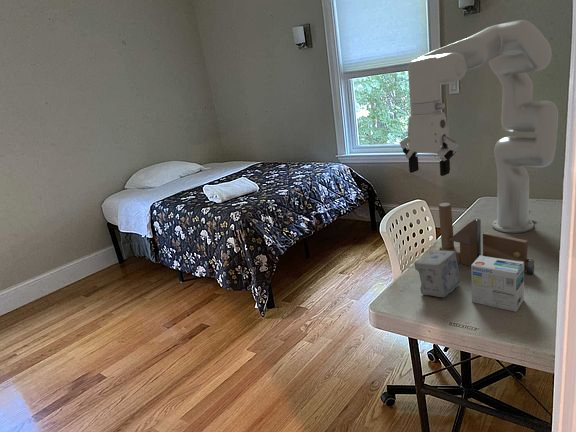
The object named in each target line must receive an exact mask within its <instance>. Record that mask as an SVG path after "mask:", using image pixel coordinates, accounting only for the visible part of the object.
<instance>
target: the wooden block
mask: <svg viewBox="0 0 576 432" xmlns="http://www.w3.org/2000/svg"><path fill="white" fill-rule="evenodd" d="M452 210H453V209H452V204H451V203H450V202H442V203H439V204H438V214H439V215H438V217H439V228H440V229H439V230H440V241H441V246H440V247H439V251H454V252H455V253H456V259H457V264H458V263H459V264H462V265H465V266H468V267H471V265H472V264H473V263H474V262H475V260H476V259H477V242H476V241H477V238H476V219H477V218H474V219H473V220H471V221H469V222H468V223H467V224H466V225H465V226H463V227H462V228H461V229H460V230H458V231H457V232H456V233H455V234H454V225H453V214H452V213H453V211H452ZM455 243H459V246H457V245H455Z"/></svg>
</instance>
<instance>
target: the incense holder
mask: <svg viewBox="0 0 576 432" xmlns="http://www.w3.org/2000/svg"><path fill="white" fill-rule="evenodd" d="M414 269H415V271H417V272H418V275H419V279H420V287H419V289H420V293H421V295H424V296H432V297H438V298H446V297H448V295H449V294H452V293H453V291H454V290H455V288H456V287H457V286H458V285H460V284H461V276H460V270H459V265H458V262H457V259H456V253H455V252H454V251H440V250H433V249H432V250H430V251H429V254H428V255H426V256H425V257H424V258H422V259H420V260H416V261H415V262H414Z"/></svg>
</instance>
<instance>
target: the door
mask: <svg viewBox="0 0 576 432" xmlns="http://www.w3.org/2000/svg"><path fill="white" fill-rule="evenodd" d="M528 243H529V240H526V239H521V238H516V237H511V236H506V235H503V234H502V235H501V234H497V233H492V232H487V231H485V232H484V233H482V256H486V257H493V258H499V259H506V260H514V261H521V262H524V273H526V270H527V259H528V249H529V246H528Z"/></svg>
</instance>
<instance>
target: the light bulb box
mask: <svg viewBox="0 0 576 432" xmlns="http://www.w3.org/2000/svg"><path fill="white" fill-rule="evenodd" d="M470 273H471V275H470V276H471V277H470V278H471V303H476V304H481V305H485V306H489V307H491V308H492V307H493V308H498V309H502V310H506V311H509V312H510V311H511V312H515V313H517V312H518V310H519V308H520V307H521V305H522V303H523V302H524V301H525V300H524V297H525V272H524V262H521V261H514V260H506V259H499V258H493V257H486V256H483V255H482V254H481V255H480V256H479V257H478V258H477V259H476V260H475V262H474V263H473V264H472V265H471V266H470Z"/></svg>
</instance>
